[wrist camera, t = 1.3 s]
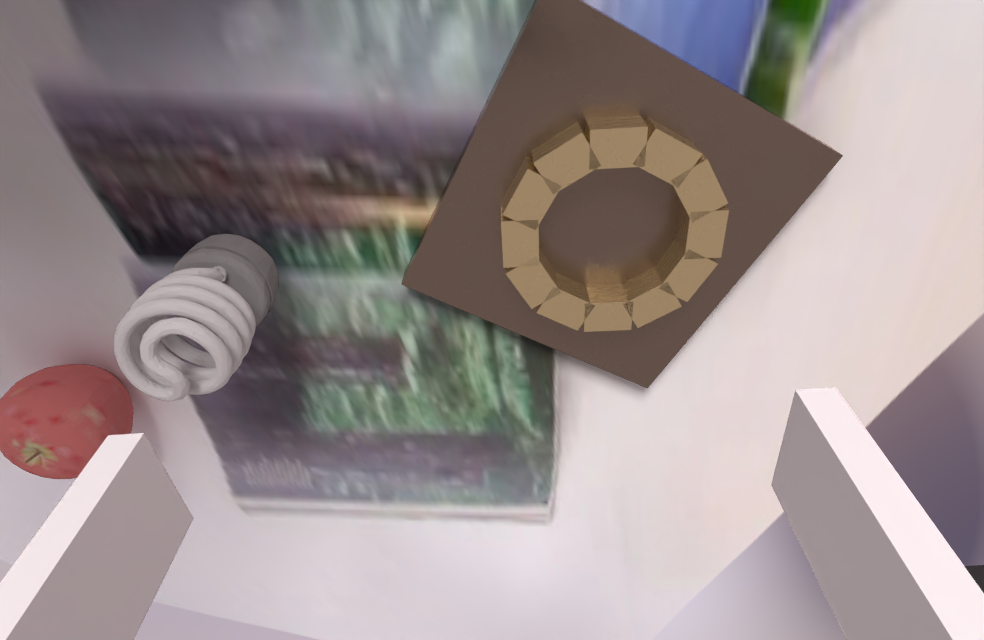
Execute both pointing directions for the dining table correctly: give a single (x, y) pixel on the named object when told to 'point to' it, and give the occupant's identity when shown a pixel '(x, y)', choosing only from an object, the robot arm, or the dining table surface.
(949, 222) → the dining table surface
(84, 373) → the apple
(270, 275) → the light bulb
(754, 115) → the lamp base
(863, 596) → the robot arm
